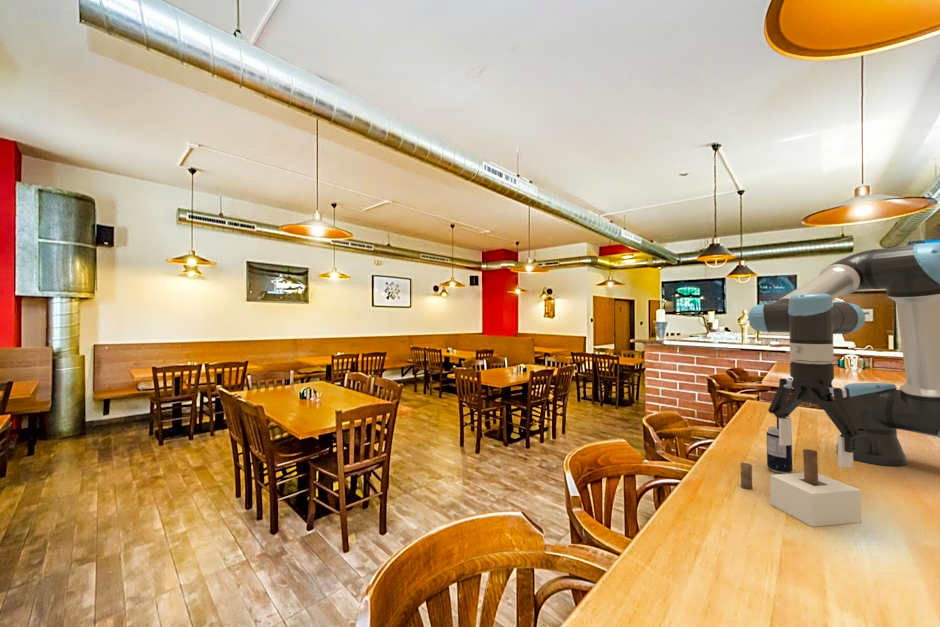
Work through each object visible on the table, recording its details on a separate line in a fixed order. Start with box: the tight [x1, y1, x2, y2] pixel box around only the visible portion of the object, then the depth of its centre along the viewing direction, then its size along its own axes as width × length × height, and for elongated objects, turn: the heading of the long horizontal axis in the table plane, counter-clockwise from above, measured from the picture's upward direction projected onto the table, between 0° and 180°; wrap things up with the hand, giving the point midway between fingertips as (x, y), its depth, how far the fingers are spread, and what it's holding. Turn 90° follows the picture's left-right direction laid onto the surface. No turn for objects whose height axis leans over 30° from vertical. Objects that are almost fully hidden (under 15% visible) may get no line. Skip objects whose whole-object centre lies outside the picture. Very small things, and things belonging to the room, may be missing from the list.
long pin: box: [802, 448, 819, 486], centre depth 89 cm, size 2×2×14 cm
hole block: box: [769, 472, 862, 528], centre depth 89 cm, size 12×10×7 cm
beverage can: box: [766, 426, 793, 474], centre depth 112 cm, size 6×6×12 cm
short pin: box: [740, 462, 753, 490], centre depth 102 cm, size 2×2×6 cm
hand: (813, 455), depth 89 cm, fingers open, 13 cm apart
